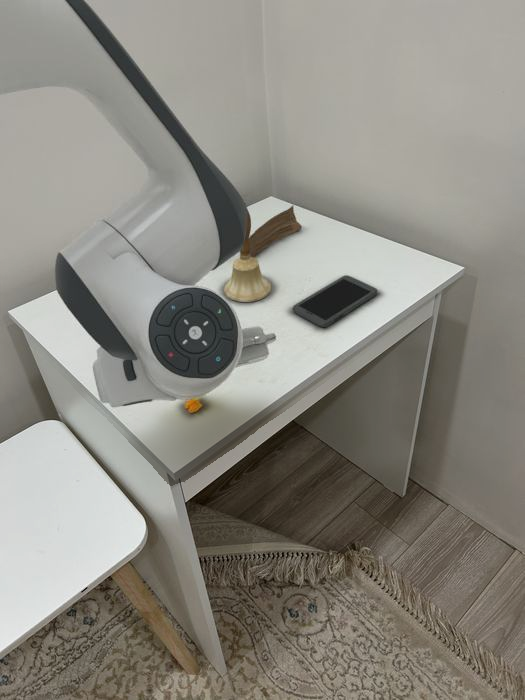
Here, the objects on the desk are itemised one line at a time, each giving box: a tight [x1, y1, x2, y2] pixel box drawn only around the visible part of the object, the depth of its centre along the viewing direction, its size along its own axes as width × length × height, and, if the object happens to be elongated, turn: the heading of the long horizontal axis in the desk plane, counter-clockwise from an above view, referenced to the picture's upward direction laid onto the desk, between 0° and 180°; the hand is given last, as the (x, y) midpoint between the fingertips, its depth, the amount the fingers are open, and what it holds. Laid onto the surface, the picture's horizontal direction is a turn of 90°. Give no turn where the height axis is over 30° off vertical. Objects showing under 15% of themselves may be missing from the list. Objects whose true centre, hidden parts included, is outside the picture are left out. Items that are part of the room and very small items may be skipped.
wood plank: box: [249, 205, 302, 258], centre depth 107 cm, size 15×2×5 cm, turn 143°
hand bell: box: [223, 202, 272, 303], centre depth 91 cm, size 8×8×16 cm
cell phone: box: [292, 274, 379, 328], centre depth 91 cm, size 7×14×1 cm, turn 132°
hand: (181, 369), depth 70 cm, fingers closed on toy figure, 5 cm apart
